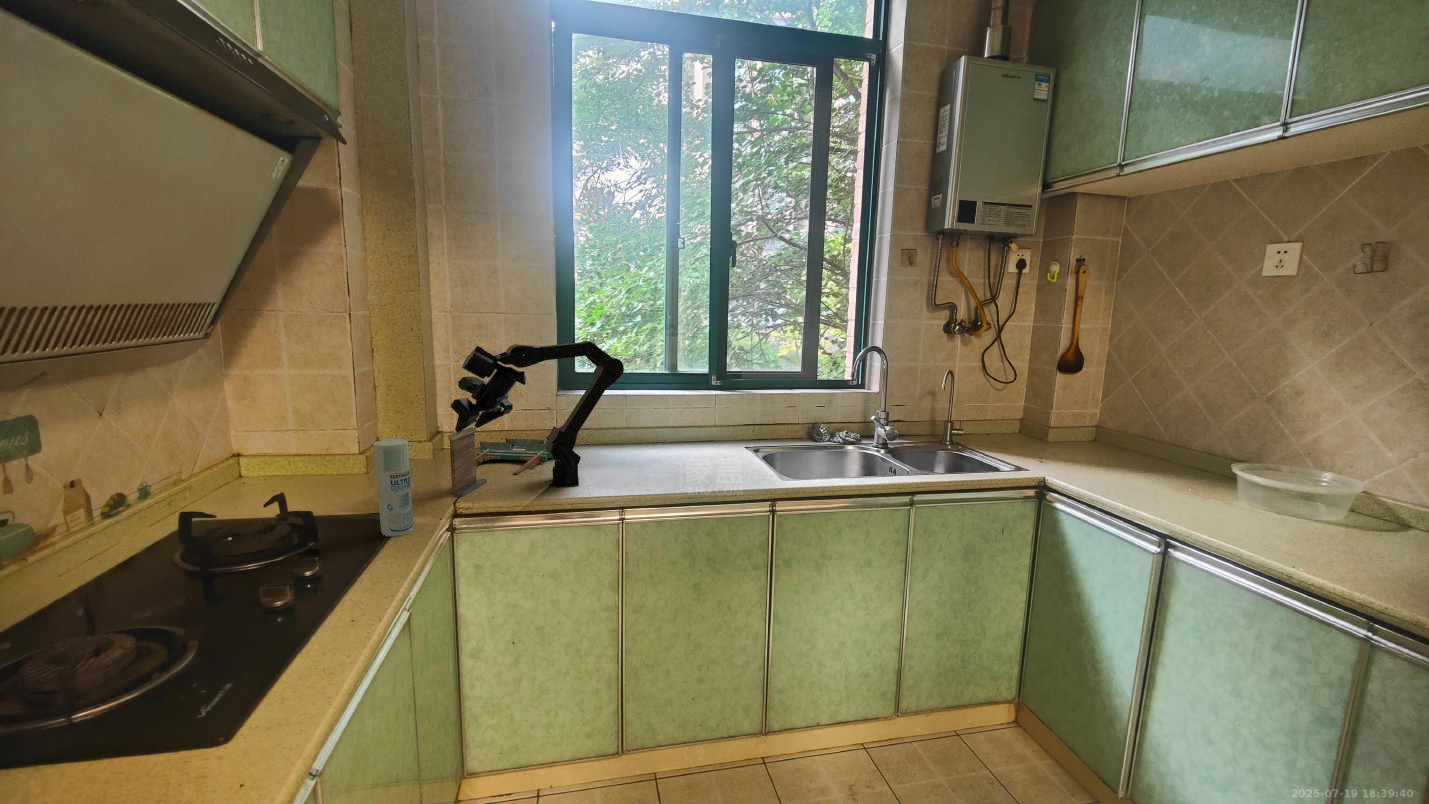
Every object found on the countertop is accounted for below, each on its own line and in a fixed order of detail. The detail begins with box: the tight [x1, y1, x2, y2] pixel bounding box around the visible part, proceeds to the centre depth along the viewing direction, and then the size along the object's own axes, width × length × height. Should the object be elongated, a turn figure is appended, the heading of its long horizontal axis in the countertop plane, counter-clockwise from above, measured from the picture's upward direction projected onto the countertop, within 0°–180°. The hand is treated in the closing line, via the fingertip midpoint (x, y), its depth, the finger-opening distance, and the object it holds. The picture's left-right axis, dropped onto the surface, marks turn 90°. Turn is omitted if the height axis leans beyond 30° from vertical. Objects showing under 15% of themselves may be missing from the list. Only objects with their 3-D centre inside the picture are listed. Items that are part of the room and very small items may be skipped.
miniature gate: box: [475, 437, 555, 476], centre depth 183 cm, size 27×6×30 cm
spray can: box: [372, 438, 414, 537], centre depth 126 cm, size 6×6×20 cm
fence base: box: [454, 478, 488, 498], centre depth 154 cm, size 2×12×2 cm, turn 173°
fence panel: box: [448, 426, 477, 494], centre depth 153 cm, size 1×10×15 cm, turn 173°
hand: (466, 429), depth 156 cm, fingers open, 7 cm apart
